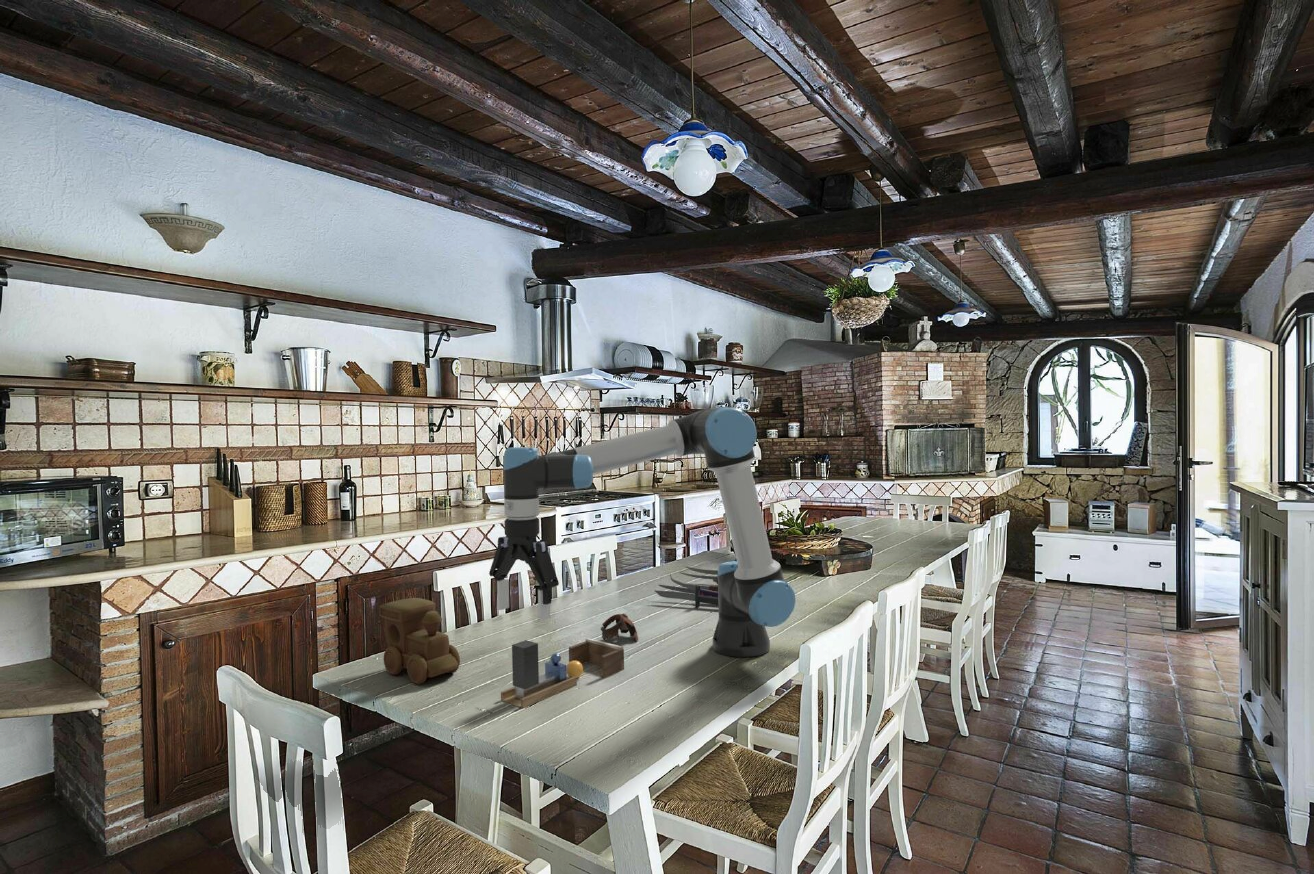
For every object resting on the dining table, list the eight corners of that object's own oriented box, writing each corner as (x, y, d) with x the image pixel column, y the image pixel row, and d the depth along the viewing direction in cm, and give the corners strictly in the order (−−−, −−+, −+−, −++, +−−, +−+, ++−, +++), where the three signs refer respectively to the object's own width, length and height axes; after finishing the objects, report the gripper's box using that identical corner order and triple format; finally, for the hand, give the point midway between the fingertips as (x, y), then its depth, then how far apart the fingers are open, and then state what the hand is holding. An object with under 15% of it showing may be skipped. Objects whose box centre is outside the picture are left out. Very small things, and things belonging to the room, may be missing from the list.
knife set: (683, 577, 262) (684, 557, 262) (768, 588, 249) (769, 567, 249) (646, 602, 230) (647, 579, 229) (742, 616, 217) (743, 592, 217)
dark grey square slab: (567, 684, 159) (566, 634, 158) (526, 701, 149) (525, 648, 149) (552, 679, 162) (551, 630, 162) (511, 696, 152) (510, 644, 152)
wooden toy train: (377, 671, 171) (375, 605, 170) (418, 658, 180) (416, 595, 179) (423, 690, 158) (421, 618, 158) (465, 675, 167) (463, 607, 167)
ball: (586, 676, 164) (586, 660, 164) (574, 682, 161) (574, 665, 161) (574, 673, 167) (574, 656, 167) (562, 678, 164) (562, 661, 164)
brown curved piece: (639, 647, 187) (624, 623, 185) (609, 661, 189) (594, 637, 187) (643, 623, 198) (628, 600, 197) (614, 636, 200) (600, 614, 198)
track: (576, 684, 159) (576, 677, 159) (523, 708, 147) (523, 699, 147) (554, 678, 164) (554, 670, 164) (500, 700, 151) (500, 691, 151)
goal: (624, 669, 169) (623, 646, 169) (604, 677, 163) (604, 654, 163) (588, 659, 176) (588, 637, 176) (569, 667, 171) (568, 645, 171)
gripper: (472, 515, 156) (474, 608, 157) (548, 524, 141) (549, 627, 141) (499, 511, 162) (500, 601, 162) (574, 519, 147) (575, 619, 147)
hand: (523, 613), depth 152 cm, fingers open, 13 cm apart
